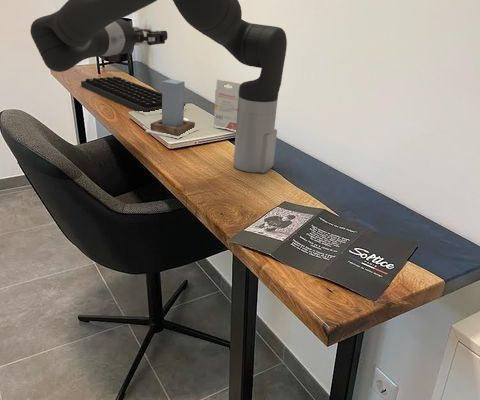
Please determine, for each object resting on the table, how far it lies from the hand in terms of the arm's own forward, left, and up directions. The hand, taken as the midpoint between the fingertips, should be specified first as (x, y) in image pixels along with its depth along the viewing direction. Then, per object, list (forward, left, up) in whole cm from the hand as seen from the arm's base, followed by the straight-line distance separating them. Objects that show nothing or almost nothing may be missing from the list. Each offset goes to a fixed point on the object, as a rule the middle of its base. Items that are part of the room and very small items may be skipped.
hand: (151, 33), depth 122 cm
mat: (0, -11, -28) cm, 30 cm away
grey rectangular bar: (0, -11, -28) cm, 30 cm away
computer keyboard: (+33, -36, -29) cm, 57 cm away
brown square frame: (0, -11, -28) cm, 30 cm away
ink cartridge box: (-12, -24, -28) cm, 39 cm away
